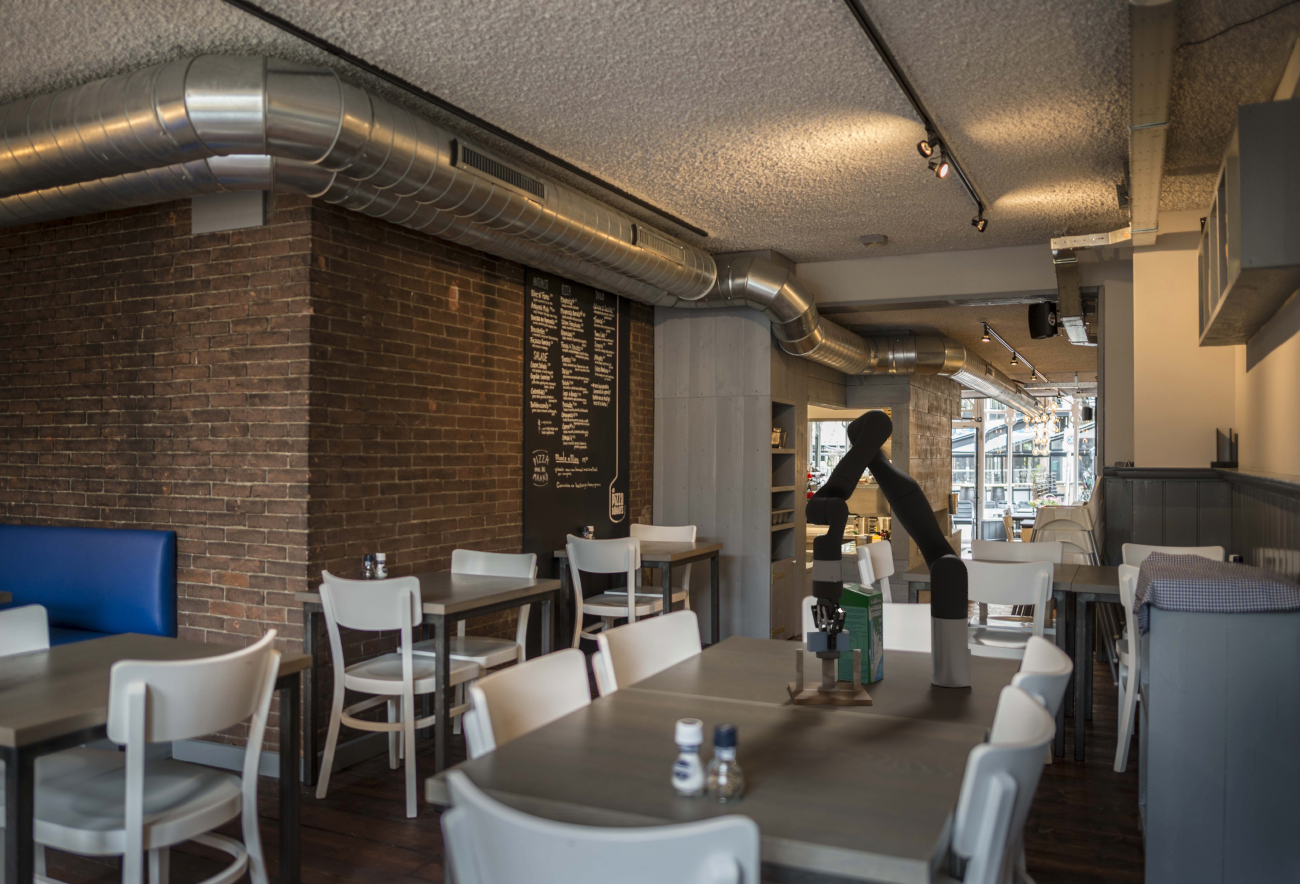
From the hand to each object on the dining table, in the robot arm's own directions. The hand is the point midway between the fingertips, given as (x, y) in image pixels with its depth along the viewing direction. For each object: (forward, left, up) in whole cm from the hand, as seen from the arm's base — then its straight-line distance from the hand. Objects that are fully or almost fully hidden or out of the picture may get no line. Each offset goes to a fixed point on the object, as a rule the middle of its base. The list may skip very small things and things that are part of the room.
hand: (828, 648), depth 229 cm
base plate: (0, 0, -12) cm, 12 cm away
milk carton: (-11, -19, -12) cm, 25 cm away
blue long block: (0, 0, -2) cm, 2 cm away
